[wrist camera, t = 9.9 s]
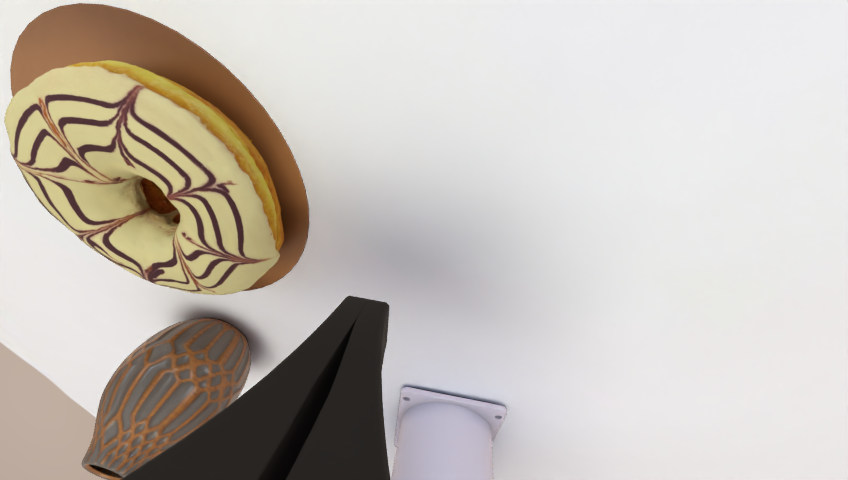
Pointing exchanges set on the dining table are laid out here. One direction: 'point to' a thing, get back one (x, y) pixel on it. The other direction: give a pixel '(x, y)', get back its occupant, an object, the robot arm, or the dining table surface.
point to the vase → (166, 393)
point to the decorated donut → (148, 176)
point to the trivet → (177, 61)
